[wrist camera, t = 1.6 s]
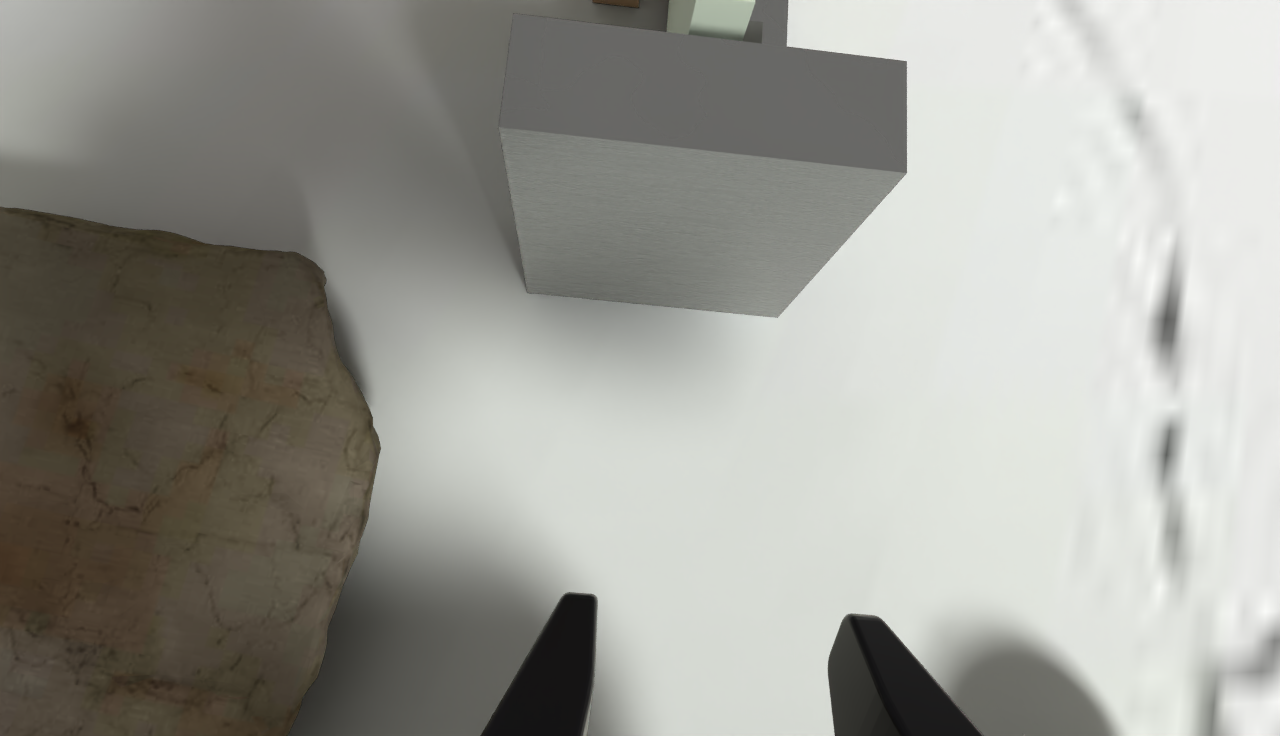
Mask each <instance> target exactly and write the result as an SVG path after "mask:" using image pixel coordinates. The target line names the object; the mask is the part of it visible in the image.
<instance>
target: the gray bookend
mask: <svg viewBox="0 0 1280 736" xmlns="http://www.w3.org/2000/svg"><path fill="white" fill-rule="evenodd" d="M787 20H788V0H755V5H754V8H753V11H752V14H751V17H750V20H749V21H757V22H763V30H762V44H761V43H753V42H745V41H736V40H728V39H720V38H712V37H704V36H695V35H687V34H679V33H671V32H663V31H654V30H646V29H638V28H630V27H622V26H614V25H605V24H597V23H589V22H581V21H573V20H564V19H556V18H548V17H540V16H532V15H523V14H515V13H513V20H512V28H511V36H510V43H509V51H508V59H507V66H506V74H505V82H504V89H503V97H502V105H501V112H500V120H499V133H500V138H501V144H502V150H503V155H504V161H505V167H506V173H507V178H508V184H509V190H510V195H511V201H512V207H513V213H514V218H515V224H516V230H517V236H518V241H519V247H520V253H521V258H522V264H523V270H524V276H525V281H526V287H527V293H536V294H546V295H556V296H566V297H576V298H586V299H596V300H606V301H616V302H626V303H636V304H646V305H656V306H667V307H677V308H687V309H697V310H707V311H717V312H727V313H737V314H747V315H757V316H767V317H777V318H778V317H779V316H780V314H781V313H782V312H783V311H784V310H785V309H786V308H787V307H788V305H789V304H790V303H791V302H792V301H793V300H794V299H795V298H796V297H797V295H798V294H799V293H800V292H801V291H802V290H803V289H804V288H805V286H806V285H807V284H808V283H809V282H810V281H811V280H812V279H813V278H814V276H815V275H816V274H817V273H818V272H819V271H820V270H821V269H822V267H823V266H824V265H825V264H826V263H827V262H828V261H829V260H830V258H831V257H832V256H833V255H834V254H835V253H836V252H837V251H838V250H839V248H840V247H841V246H842V245H843V244H844V243H845V242H846V241H847V239H848V238H849V237H850V236H851V235H852V234H853V233H854V232H855V231H856V229H857V228H858V227H859V226H860V225H861V224H862V223H863V222H864V220H865V219H866V218H867V217H868V216H869V215H870V214H871V213H872V212H873V210H874V209H875V208H876V207H877V206H878V205H879V204H880V203H881V201H882V200H883V199H884V198H885V197H886V196H887V195H888V194H889V193H890V191H891V190H892V189H893V188H894V187H895V186H896V185H897V184H898V182H899V181H900V180H901V179H902V178H903V177H904V176H905V175H906V173H907V61H900V60H892V59H884V58H876V57H867V56H859V55H851V54H843V53H835V52H827V51H818V50H810V49H802V48H794V47H786V46H787Z"/></svg>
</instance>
